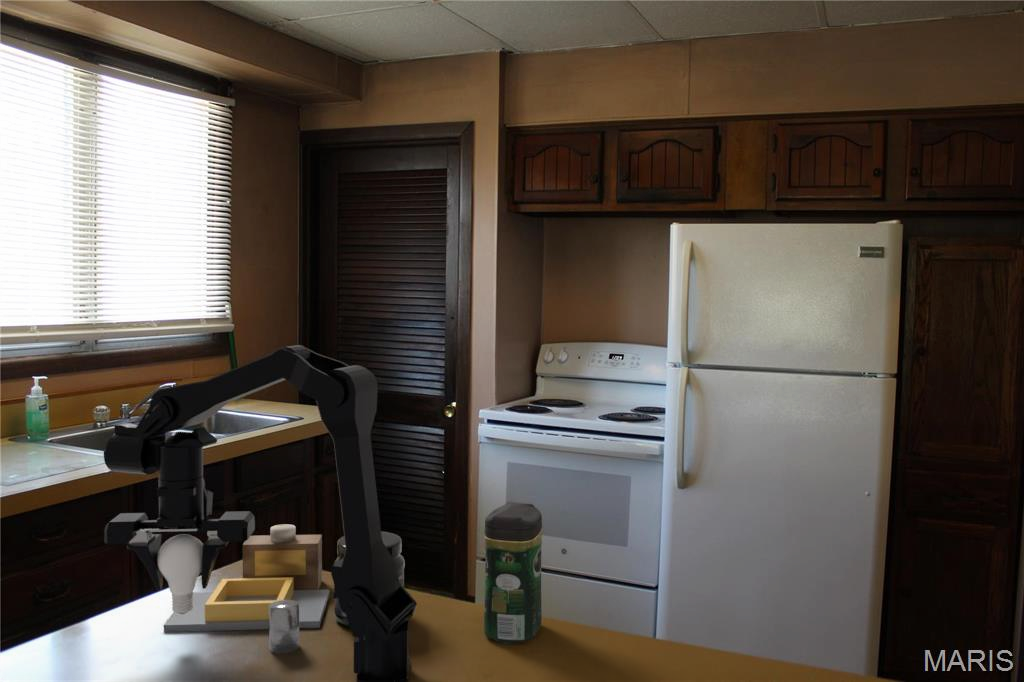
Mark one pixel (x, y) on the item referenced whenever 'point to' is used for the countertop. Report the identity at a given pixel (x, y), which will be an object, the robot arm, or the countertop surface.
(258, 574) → the lamp unit
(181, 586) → the lightbulb
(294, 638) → the silver metal cylinder
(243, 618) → the board
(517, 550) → the coffee jar
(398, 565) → the supplement container
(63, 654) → the countertop surface
